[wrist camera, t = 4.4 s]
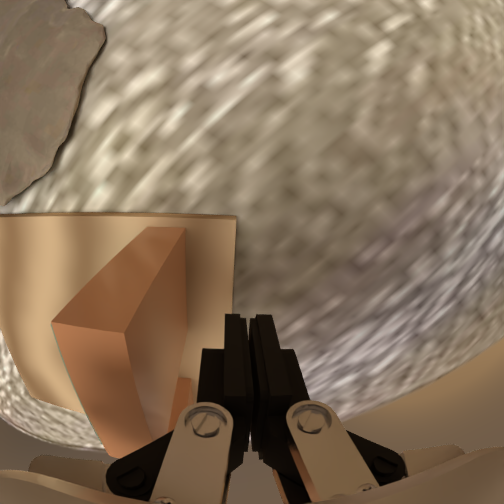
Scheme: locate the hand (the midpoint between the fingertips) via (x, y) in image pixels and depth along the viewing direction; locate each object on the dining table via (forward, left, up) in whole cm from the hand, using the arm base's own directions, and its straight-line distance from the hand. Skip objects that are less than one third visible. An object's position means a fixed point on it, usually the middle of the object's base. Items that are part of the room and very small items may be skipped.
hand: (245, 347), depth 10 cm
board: (+10, +5, -6) cm, 13 cm away
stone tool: (+20, -16, -7) cm, 26 cm away
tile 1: (+4, 0, -5) cm, 7 cm away
